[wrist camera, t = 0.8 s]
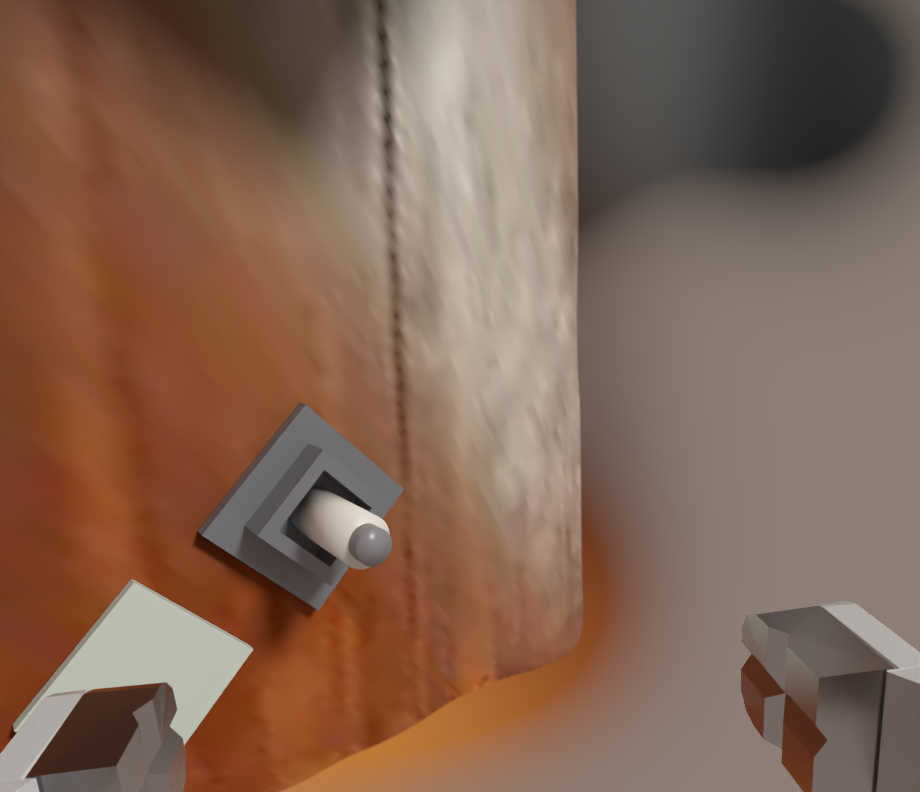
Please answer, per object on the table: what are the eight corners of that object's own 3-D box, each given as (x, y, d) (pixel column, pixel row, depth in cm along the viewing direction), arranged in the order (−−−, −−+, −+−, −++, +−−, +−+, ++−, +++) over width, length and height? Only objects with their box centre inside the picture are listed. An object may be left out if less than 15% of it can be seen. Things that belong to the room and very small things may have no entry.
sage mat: (12, 724, 39) (13, 731, 39) (131, 578, 42) (134, 582, 42) (152, 777, 45) (155, 784, 44) (249, 644, 48) (253, 649, 47)
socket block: (197, 531, 45) (213, 546, 42) (300, 402, 48) (321, 408, 45) (312, 605, 50) (333, 623, 48) (397, 486, 54) (421, 496, 51)
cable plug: (279, 517, 47) (338, 557, 40) (310, 477, 48) (373, 509, 41) (314, 542, 49) (376, 585, 41) (343, 503, 50) (409, 538, 42)
